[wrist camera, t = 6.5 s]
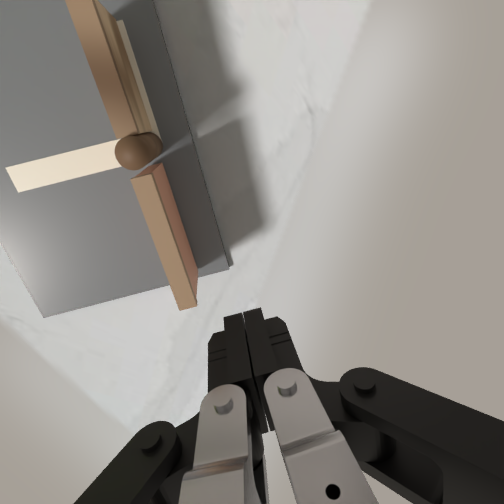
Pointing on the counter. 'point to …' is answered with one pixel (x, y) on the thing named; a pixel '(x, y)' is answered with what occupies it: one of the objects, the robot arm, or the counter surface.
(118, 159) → the fixed fence section
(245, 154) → the counter surface
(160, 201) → the hinged fence section
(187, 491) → the robot arm
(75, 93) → the card
